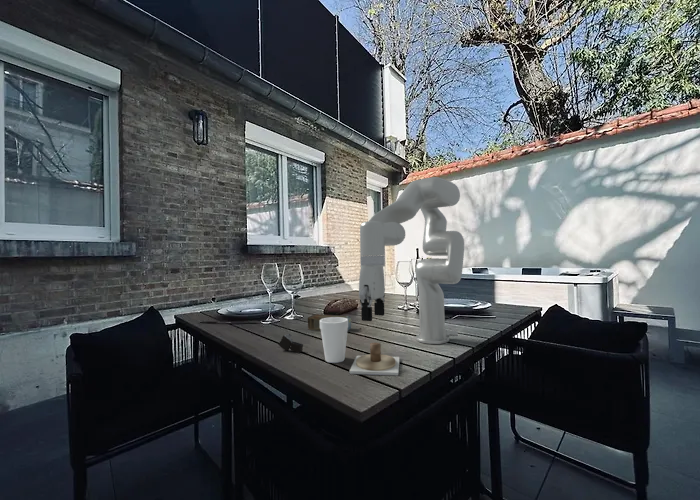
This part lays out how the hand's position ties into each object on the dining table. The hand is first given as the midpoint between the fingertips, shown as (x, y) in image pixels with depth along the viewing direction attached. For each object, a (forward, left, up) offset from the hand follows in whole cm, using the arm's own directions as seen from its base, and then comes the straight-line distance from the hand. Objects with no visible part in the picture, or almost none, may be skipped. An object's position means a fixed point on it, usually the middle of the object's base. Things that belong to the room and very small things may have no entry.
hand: (373, 317), depth 102 cm
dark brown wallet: (+32, -13, -15) cm, 38 cm away
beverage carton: (+25, -47, -15) cm, 56 cm away
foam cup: (+14, -6, -15) cm, 21 cm away
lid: (0, 0, -14) cm, 14 cm away
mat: (0, 0, -15) cm, 15 cm away
